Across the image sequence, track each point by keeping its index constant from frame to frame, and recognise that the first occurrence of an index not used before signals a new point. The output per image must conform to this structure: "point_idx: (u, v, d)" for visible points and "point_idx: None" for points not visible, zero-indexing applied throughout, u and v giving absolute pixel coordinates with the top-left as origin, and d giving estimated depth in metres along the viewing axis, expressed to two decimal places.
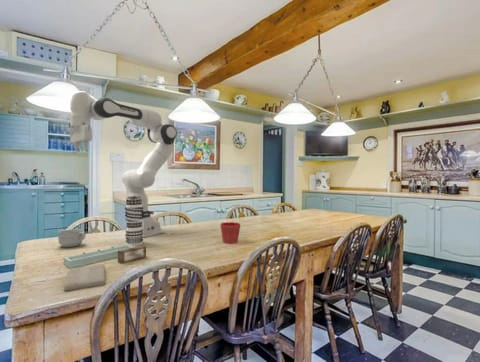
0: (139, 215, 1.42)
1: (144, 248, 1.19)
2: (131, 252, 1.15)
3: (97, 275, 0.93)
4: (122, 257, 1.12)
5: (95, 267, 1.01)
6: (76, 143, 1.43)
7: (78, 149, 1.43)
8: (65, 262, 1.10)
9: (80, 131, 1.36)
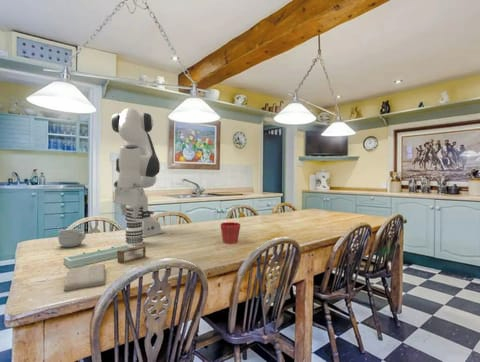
0: (139, 215, 1.42)
1: (143, 248, 1.20)
2: (130, 252, 1.15)
3: (97, 275, 0.93)
4: (122, 257, 1.12)
5: (95, 267, 1.01)
6: (122, 205, 1.20)
7: (125, 212, 1.19)
8: (65, 262, 1.10)
9: (130, 194, 1.13)
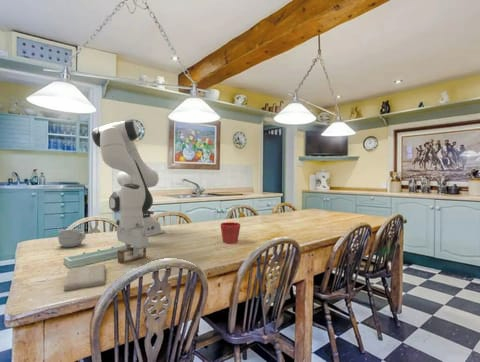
0: None
1: (144, 248, 1.19)
2: (130, 252, 1.15)
3: (97, 275, 0.93)
4: (122, 257, 1.12)
5: (96, 267, 1.01)
6: (128, 244, 1.18)
7: None
8: (65, 262, 1.10)
9: (133, 235, 1.13)
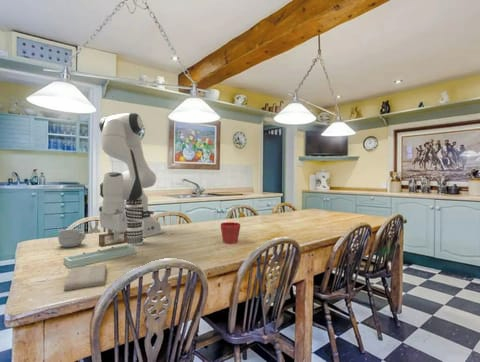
0: (139, 215, 1.42)
1: (125, 233, 1.26)
2: (111, 236, 1.21)
3: (97, 275, 0.93)
4: (102, 240, 1.19)
5: (97, 267, 1.01)
6: (109, 229, 1.25)
7: None
8: (65, 262, 1.10)
9: (113, 220, 1.19)
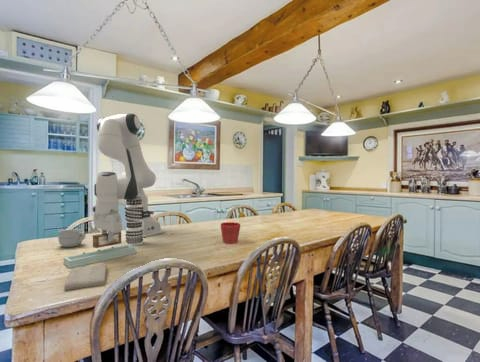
0: (139, 215, 1.42)
1: (119, 234, 1.24)
2: (105, 237, 1.19)
3: (98, 275, 0.93)
4: (96, 241, 1.16)
5: (97, 267, 1.01)
6: (103, 230, 1.22)
7: None
8: (65, 262, 1.10)
9: (107, 220, 1.17)
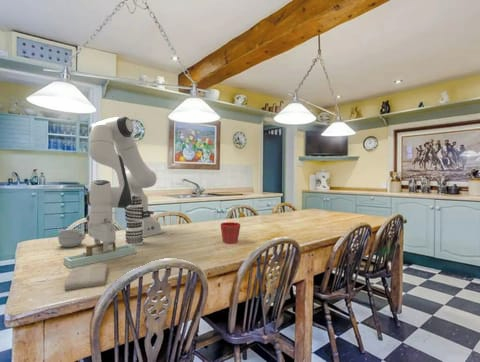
0: (139, 215, 1.42)
1: (113, 244, 1.22)
2: (99, 247, 1.17)
3: (98, 275, 0.93)
4: (90, 252, 1.15)
5: (98, 267, 1.02)
6: (96, 238, 1.22)
7: None
8: (65, 262, 1.10)
9: (101, 229, 1.15)
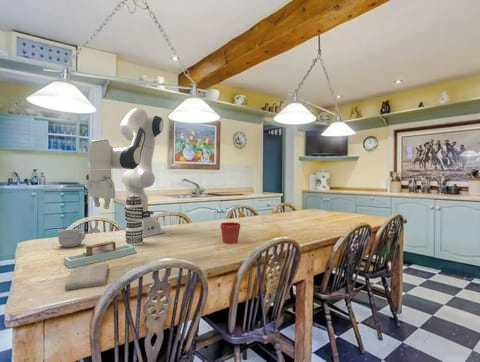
0: (139, 215, 1.42)
1: (113, 244, 1.22)
2: (99, 247, 1.17)
3: (98, 275, 0.93)
4: (90, 252, 1.15)
5: (99, 266, 1.02)
6: (95, 197, 1.24)
7: (98, 204, 1.24)
8: (65, 262, 1.10)
9: (101, 187, 1.17)
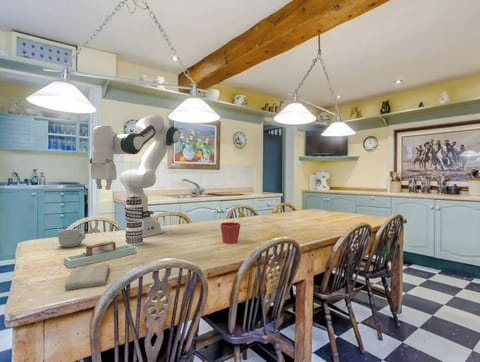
0: (139, 215, 1.42)
1: (113, 244, 1.22)
2: (99, 247, 1.17)
3: (99, 275, 0.93)
4: (90, 252, 1.15)
5: (99, 266, 1.02)
6: (98, 180, 1.33)
7: (100, 186, 1.32)
8: (65, 262, 1.10)
9: (103, 169, 1.26)
